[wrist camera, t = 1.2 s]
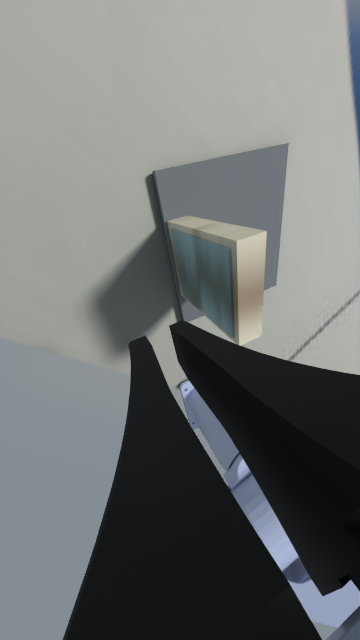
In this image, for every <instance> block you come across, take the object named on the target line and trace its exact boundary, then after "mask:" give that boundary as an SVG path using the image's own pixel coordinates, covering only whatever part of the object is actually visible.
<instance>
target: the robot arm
mask: <svg viewBox="0 0 360 640" xmlns="http://www.w3.org/2000/svg"><path fill="white" fill-rule="evenodd" d="M169 327H170V331H171V335H172V339H173V343H174V347H175V351H176V354H177V358H178V362H179V364H180V366H181V367H182V369H183V371H184V373H185V374H186V376H187V378H188V380H187V381H185V382H183V383H181V385H180V390H181V394H182V397H183V401H184V405H185V408H186V412H187V416H188V420H189V422H188V421H187V419H186V417H185V416H184V414H183V412H182V410H181V409H180V407H179V406H178V403H177V402H176V400H175V398H174V397H173V395H172V393H171V391H170V389H169V387H168V384H167V382H166V380H165V377H164V375H163V372H162V370H161V367H160V365H159V362H158V360H157V357H156V355H155V352H154V350H153V347H152V345H151V343H150V342H149V340H148V339H147V338H146V336H143V337H141V338H138V339H136V340H133V341H131V342H130V343H129V345H128V346H129V350H130V357H131V384H130V396H129V404H128V413H127V419H126V425H125V431H124V436H123V441H122V446H121V451H120V455H119V460H118V464H117V468H116V472H115V476H114V480H113V484H112V488H111V491H110V495H109V498H108V502H107V505H106V509H105V512H104V515H103V519H102V522H101V526H100V529H99V532H98V536H97V539H96V543H95V546H94V549H93V552H92V555H91V558H90V562H89V564H88V568H87V570H86V573H85V576H84V579H83V582H82V585H81V588H80V591H79V594H78V597H77V600H76V602H75V605H74V608H73V611H72V614H71V617H70V620H69V623H68V626H67V629H66V632H65V635H64V638H63V640H322V639H321V637H320V636H319V634H318V632H317V630H316V628H315V627H314V625H313V623H312V622H311V621H313V622H317V623H321V624H325V625H328V626H332V627H335V628H337V629H336V630H335V632H333V634H331V635H330V636H329V638H328V639H327V640H360V375H355V374H349V373H343V372H337V371H332V370H327V369H322V368H317V367H312V366H308V365H303V364H299V363H295V362H291V361H287V360H283V359H280V358H276V357H273V356H269V355H266V354H262V353H259V352H256V351H253V350H251V349H248V348H245V347H242V346H240V345H237V344H234V343H232V342H229V341H227V340H225V339H222V338H220V337H218V336H215V335H213V334H211V333H209V332H207V331H205V330H202V329H200V328H198V327H196V326H194V325H192V324H190V323H188V322H186V321H184V320H182V321H179V322H177V323H175V324H172V325H170V326H169ZM189 423H190V424H189ZM197 427H199V428H200V430H201V431H202V433H203V435H204V437H205V439H206V440H207V442H208V444H209V446H210V447H211V449H212V451H213V453H214V454H215V456H216V458H217V460H218V461H219V463H220V465H221V466H222V468H223V469H224V470H225V471H226V473H225V474H224V478H225V480H226V481H227V483H228V486H227V485H226V483H225V482H224V480H223V478H222V477H221V475H220V474H219V472H218V470H217V469H216V467H215V465H214V464H213V462H212V460H211V459H210V457H209V456H208V454H207V452H206V451H205V449H204V447H203V446H202V444H201V443H200V441H199V439H198V437H197V436H196V434H195V432H194V431H193V429H195V428H197Z"/></svg>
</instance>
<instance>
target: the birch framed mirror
mask: <svg viewBox="0 0 360 640" xmlns="http://www.w3.org/2000/svg"><path fill="white" fill-rule="evenodd" d="M167 223H168V228H169V234H170V239H171V244H172V249H173V254H174V260H175V265H176V270H177V275H178V280H179V286H180V291H181V295H182V296H183V297H184V298H185V299H187V300H188V301H189V302H190V303H191V304H192V305H193V306H194V307H196V308H197V309H198V310H199V311H200V312H201V313H202V314H203V315H205V316H206V317H207V318H208V319H209V320H210V321H211V322H212V323H214V324H215V325H216V326H217V327H218V328H219V329H220V330H221V331H223V332H224V333H225V334H226V335H227V336H228V337H229V338H230V339H232V340H233V341H234V342H235V343H236V344H237V345H240V346H241V345H243V344H245V343H247V342H249V341H251V340H253V339H255V338H257V337H259V336H261V333H262V314H263V294H264V275H265V256H266V237H267V231H264V230H259V229H254V228H249V227H244V226H238V225H233V224H228V223H223V222H218V221H213V220H207V219H202V218H197V217H192V216H184V217H180V218H176V219H173V220H169V221H167Z"/></svg>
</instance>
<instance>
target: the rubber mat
mask: <svg viewBox="0 0 360 640" xmlns="http://www.w3.org/2000/svg"><path fill="white" fill-rule="evenodd" d="M288 144H289V143H287V144H282V145H277V146H272V147H268V148H263V149H258V150H253V151H249V152H244V153H239V154H234V155H229V156H225V157H220V158H215V159H210V160H206V161H201V162H196V163H191V164H186V165H182V166H177V167H172V168H167V169H163V170H158V171H153V177H154V182H155V187H156V191H157V196H158V201H159V206H160V211H161V216H162V221H163V226H164V231H165V236H166V241H167V246H168V250H169V255H170V260H171V265H172V270H173V275H174V280H175V285H176V290H177V295H178V300H179V305H180V309H181V314H182V319H183V320H184V321H186V322H189V321H192V320H194V319H196V318H199V317H201V316H204V315H203V314H202V313H201V312H200V311H199V310H198V309H197V308H196V307H194V306H193V305H192V304H191V303H190V302H189V301H188V300H187V299H185V298H184V297H183V296H182V295H181V291H180V286H179V280H178V275H177V270H176V265H175V260H174V254H173V249H172V244H171V239H170V234H169V228H168V223H167V221H169V220H173V219H176V218H180V217H184V216H192V217H197V218H202V219H207V220H213V221H218V222H223V223H228V224H233V225H238V226H244V227H249V228H254V229H259V230H264V231H267V237H266V256H265V275H264V290H266V289H268V288H271V287H273V286H275V285H276V281H277V270H278V258H279V247H280V235H281V224H282V212H283V201H284V189H285V178H286V167H287V155H288Z"/></svg>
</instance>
